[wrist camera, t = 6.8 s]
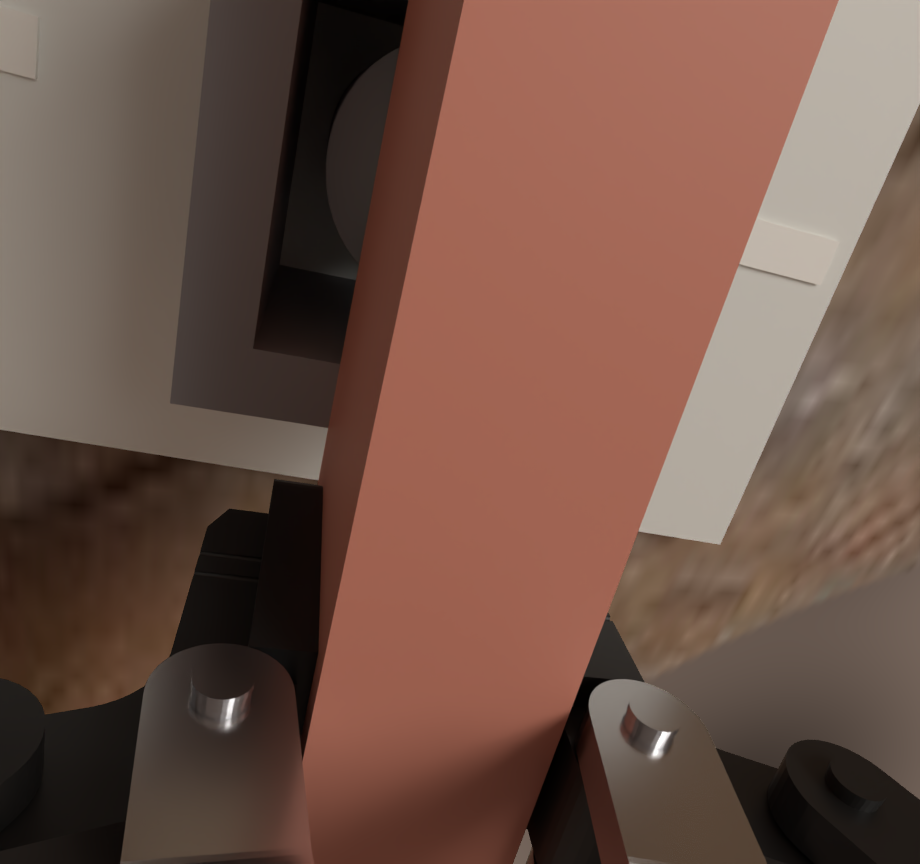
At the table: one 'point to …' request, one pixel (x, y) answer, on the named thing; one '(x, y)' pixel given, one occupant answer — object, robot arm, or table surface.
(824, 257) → the lock board
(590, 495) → the red bar with frame
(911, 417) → the table surface
